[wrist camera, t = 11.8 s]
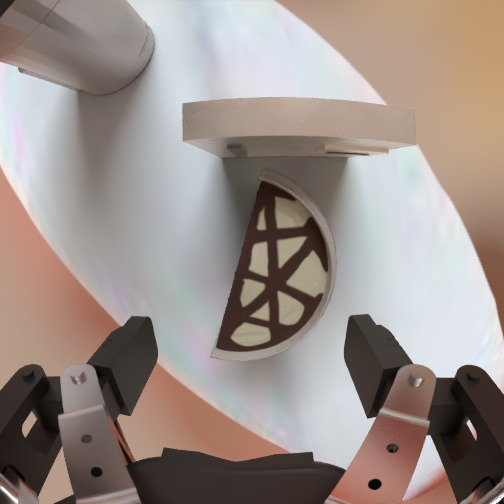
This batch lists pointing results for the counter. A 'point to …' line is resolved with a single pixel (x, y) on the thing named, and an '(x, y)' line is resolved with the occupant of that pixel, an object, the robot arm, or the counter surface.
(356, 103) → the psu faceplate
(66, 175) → the counter surface
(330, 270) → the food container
